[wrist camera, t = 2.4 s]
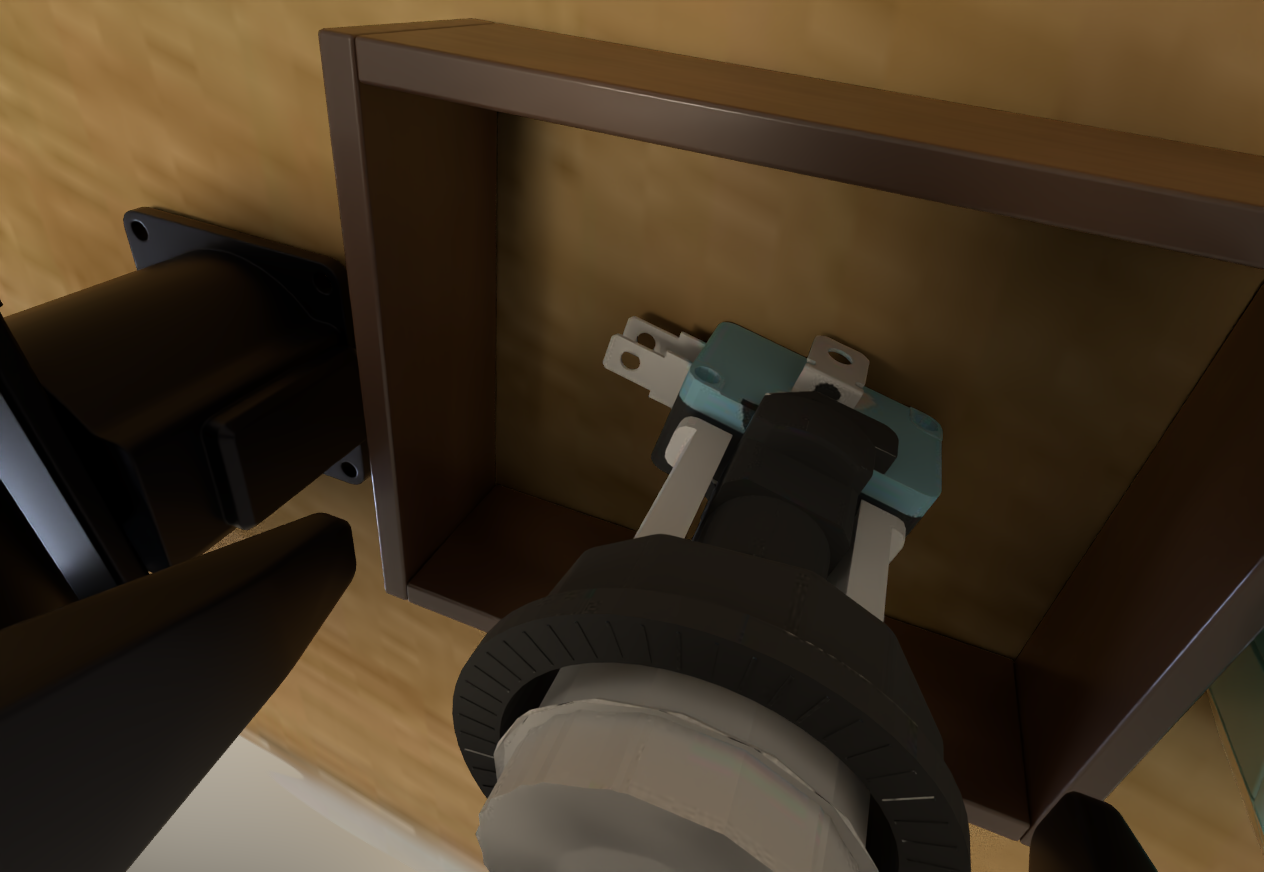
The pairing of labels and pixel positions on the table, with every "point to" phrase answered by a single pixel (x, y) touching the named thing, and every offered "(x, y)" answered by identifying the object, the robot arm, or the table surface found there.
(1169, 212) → the wooden box
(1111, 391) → the table surface
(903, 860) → the push button
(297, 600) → the robot arm
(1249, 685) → the teal wide round container
